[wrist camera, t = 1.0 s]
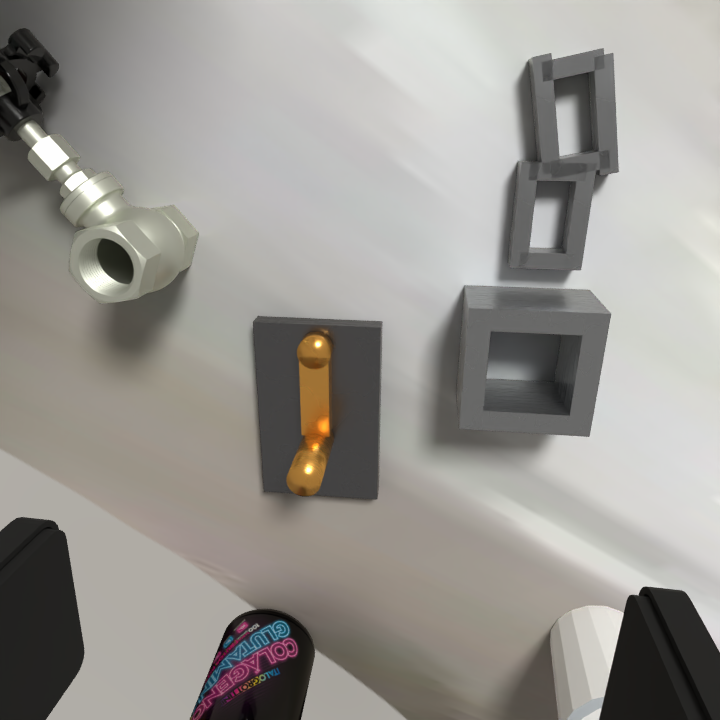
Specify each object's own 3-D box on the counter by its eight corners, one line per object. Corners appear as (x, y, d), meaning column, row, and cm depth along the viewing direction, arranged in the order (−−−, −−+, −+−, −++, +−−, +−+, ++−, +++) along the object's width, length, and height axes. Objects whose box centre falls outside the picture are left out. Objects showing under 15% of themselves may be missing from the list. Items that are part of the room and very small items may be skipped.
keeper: (257, 316, 33) (226, 352, 28) (382, 321, 33) (373, 359, 28) (268, 482, 38) (242, 539, 32) (378, 489, 37) (370, 549, 32)
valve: (235, 230, 32) (68, 36, 29) (189, 257, 26) (-29, 16, 23) (154, 302, 34) (-9, 128, 31) (94, 343, 28) (-115, 132, 25)
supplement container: (329, 621, 42) (297, 774, 32) (303, 684, 44) (267, 842, 35) (237, 591, 41) (178, 734, 32) (217, 656, 44) (157, 806, 34)
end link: (464, 285, 31) (469, 308, 28) (589, 290, 31) (610, 313, 27) (456, 394, 34) (459, 428, 30) (572, 401, 33) (589, 436, 29)
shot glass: (642, 591, 38) (685, 689, 31) (653, 670, 40) (695, 776, 33) (532, 605, 39) (552, 702, 33) (548, 680, 41) (570, 784, 35)
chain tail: (529, 51, 27) (533, 48, 26) (630, 50, 26) (639, 48, 25) (507, 262, 31) (510, 267, 30) (595, 265, 30) (602, 271, 29)
